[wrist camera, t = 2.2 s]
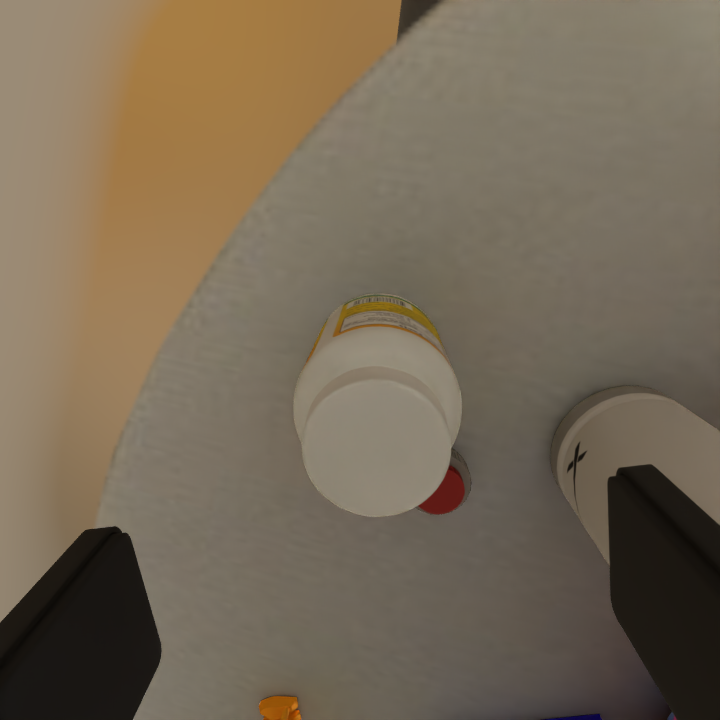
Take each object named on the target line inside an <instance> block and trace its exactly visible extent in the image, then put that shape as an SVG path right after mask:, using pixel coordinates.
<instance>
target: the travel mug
mask: <svg viewBox="0 0 720 720" xmlns="http://www.w3.org/2000/svg"><path fill="white" fill-rule="evenodd" d="M550 462H551V469H552V473H553V475H554V478H555V481H556V483H557V484H558V486H559V488H560V489H561V491H562V492H563V494H564V495H565V497H566V498H567V500H568V501H569V503H570V505H571V506H572V508H573V510H574V511H575V513H576V514H577V516H578V517H579V519H580V521H581V522H582V524H583V525H584V527H585V528H586V530H587V532H588V533H589V535H590V536H591V538H592V539H593V541H594V543H595V544H596V546H597V547H598V549H599V550H600V552H601V554H602V555H603V557H604V558H605V560H606V561H607V563H608V565H609V566H610V562H609V527H608V492H607V481H608V478H609V477H610V476H616V472H617V469H618V468H620V467H629V466H637V465H646V464H652V465H653V466H655V467H656V468H657V469H658V470H659V471H660V472H661V473H663V474H664V475H665V476H666V477H667V478H668V479H669V480H670V481H671V482H673V483H674V484H675V485H676V486H677V487H678V488H679V489H680V490H681V491H683V492H684V493H685V494H686V495H687V496H688V497H689V498H690V499H691V500H692V501H694V502H695V503H696V504H697V505H698V506H699V507H700V508H701V509H702V510H704V511H705V512H706V513H707V514H708V515H709V516H710V517H711V518H712V519H713V520H715V521H716V522H717V523H718V524H719V525H720V431H719V430H718V429H716V428H715V427H713V426H712V425H710V424H709V423H707V422H706V421H704V420H703V419H701V418H700V417H698V416H697V415H695V414H694V413H692V412H691V411H689V410H688V409H686V408H685V407H683V406H682V405H680V404H679V403H677V402H676V401H674V400H673V399H671V398H670V397H668V396H667V395H665V394H664V393H662V392H659V391H656V390H654V389H651V388H646V387H641V386H619V387H614V388H609V389H606V390H603V391H601V392H598V393H595V394H593V395H591V396H590V397H588V398H586V399H585V400H583V401H581V402H580V403H579V404H578V405H577V406H575V407H574V408H573V409H572V410H571V411H570V412H569V413H568V414H567V416H566V417H565V418H564V419H563V421H562V422H561V423H560V425H559V427H558V429H557V431H556V433H555V435H554V438H553V442H552V445H551V454H550Z"/></svg>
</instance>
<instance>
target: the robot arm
mask: <svg viewBox="0 0 720 720" xmlns="http://www.w3.org/2000/svg"><path fill="white" fill-rule="evenodd" d="M607 492H608V527H609V562H610V596H611V603H612V608H613V611H614V614H615V616H616V618H617V620H618V622H619V623H620V625H621V627H622V628H623V630H624V632H625V633H626V635H627V637H628V638H629V640H630V642H631V644H632V645H633V647H634V649H635V650H636V652H637V654H638V655H639V657H640V659H641V660H642V662H643V664H644V665H645V667H646V669H647V670H648V672H649V674H650V675H651V677H652V679H653V680H654V682H655V684H656V685H657V687H658V689H659V690H660V692H661V694H662V695H663V697H664V699H665V700H666V702H667V704H668V705H669V707H670V709H671V710H672V712H673V714H674V715H675V717H676V719H677V720H720V525H719V524H718V523H717V522H716V521H715V520H713V519H712V518H711V517H710V516H709V515H708V514H707V513H706V512H705V511H704V510H702V509H701V508H700V507H699V506H698V505H697V504H696V503H695V502H694V501H692V500H691V499H690V498H689V497H688V496H687V495H686V494H685V493H684V492H683V491H681V490H680V489H679V488H678V487H677V486H676V485H675V484H674V483H673V482H671V481H670V480H669V479H668V478H667V477H666V476H665V475H664V474H663V473H661V472H660V471H659V470H658V469H657V468H656V467H655V466H653V465H652V464H646V465H637V466H629V467H620V468H618V469H617V472H616V476H610V477H609V478H608V481H607ZM161 652H162V650H161V642H160V638H159V635H158V631H157V628H156V624H155V621H154V617H153V614H152V610H151V607H150V603H149V600H148V596H147V593H146V589H145V586H144V582H143V579H142V575H141V572H140V569H139V565H138V562H137V558H136V555H135V551H134V548H133V544H132V541H131V538H130V536H129V535H128V534H127V533H122V531H121V530H120V529H119V528H118V527H116V526H114V527H105V528H96V529H89V530H85V531H84V532H83V533H82V534H81V535H80V536H79V537H78V538H77V539H76V540H75V541H74V543H73V544H72V545H71V546H70V547H69V548H68V549H67V550H66V551H65V552H64V553H63V555H62V556H61V557H60V558H59V559H58V560H57V561H56V562H55V563H54V565H53V566H52V567H51V568H50V569H49V570H48V571H47V572H46V573H45V574H44V575H43V577H42V578H41V579H40V580H39V581H38V582H37V583H36V584H35V585H34V586H33V587H32V589H31V590H30V591H29V592H28V593H27V594H26V595H25V596H24V597H23V598H22V600H21V601H20V602H19V603H18V604H17V605H16V606H15V607H14V608H13V610H11V612H10V613H9V614H8V615H7V616H6V617H5V618H4V619H3V620H2V621H1V623H0V720H133V718H134V716H135V714H136V712H137V710H138V708H139V705H140V703H141V701H142V699H143V697H144V695H145V693H146V691H147V689H148V687H149V684H150V682H151V680H152V678H153V676H154V674H155V672H156V670H157V668H158V666H159V663H160V659H161Z"/></svg>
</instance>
